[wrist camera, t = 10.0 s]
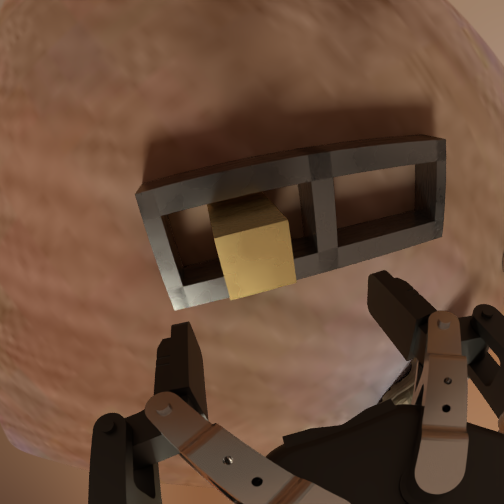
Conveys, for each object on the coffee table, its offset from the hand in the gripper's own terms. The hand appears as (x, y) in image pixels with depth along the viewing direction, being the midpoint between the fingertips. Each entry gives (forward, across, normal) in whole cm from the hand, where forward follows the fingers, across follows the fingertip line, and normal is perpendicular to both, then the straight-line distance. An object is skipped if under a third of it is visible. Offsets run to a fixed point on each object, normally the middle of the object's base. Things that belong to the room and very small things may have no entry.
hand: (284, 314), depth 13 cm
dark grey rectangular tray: (+12, -5, 0) cm, 13 cm away
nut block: (+12, 0, 0) cm, 12 cm away
